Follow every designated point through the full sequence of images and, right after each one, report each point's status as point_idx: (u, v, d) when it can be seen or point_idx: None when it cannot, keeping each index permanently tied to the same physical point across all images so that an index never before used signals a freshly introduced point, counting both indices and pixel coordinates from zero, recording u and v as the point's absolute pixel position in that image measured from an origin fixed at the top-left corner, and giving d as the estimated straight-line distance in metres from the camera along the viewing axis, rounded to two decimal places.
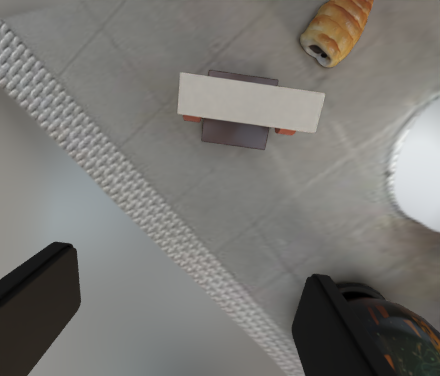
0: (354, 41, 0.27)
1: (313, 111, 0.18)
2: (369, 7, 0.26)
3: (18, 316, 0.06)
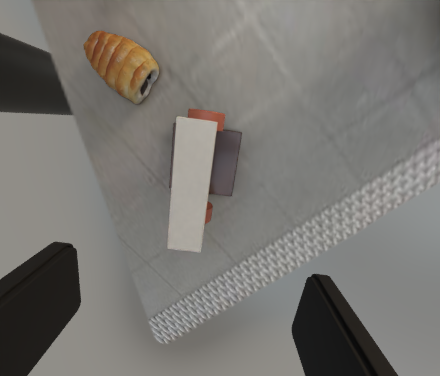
0: (133, 46, 0.26)
1: (194, 127, 0.16)
2: (102, 35, 0.26)
3: (18, 316, 0.06)
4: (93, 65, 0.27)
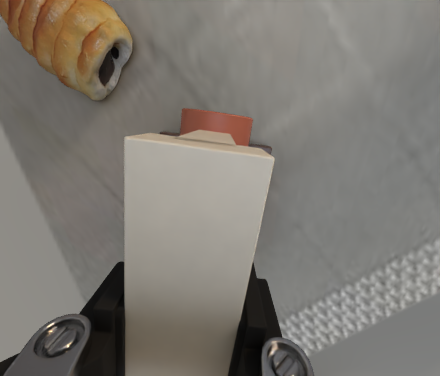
0: None
1: (192, 175, 0.05)
2: None
3: None
4: (12, 31, 0.15)
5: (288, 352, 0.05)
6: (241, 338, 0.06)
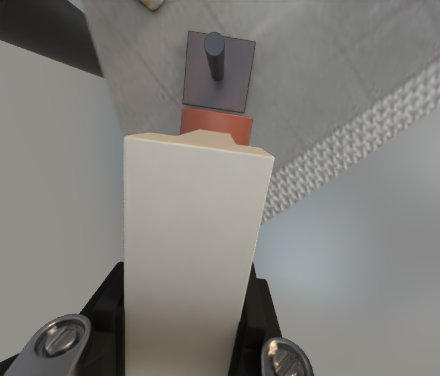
0: None
1: (192, 175, 0.05)
2: None
3: None
4: None
5: (288, 352, 0.05)
6: (241, 338, 0.06)
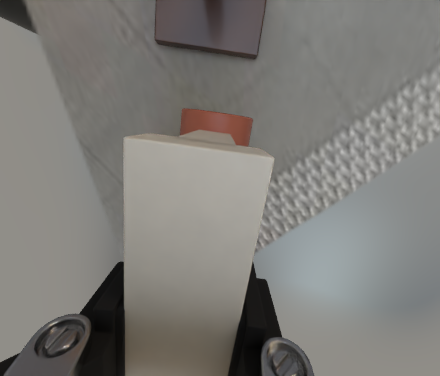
0: None
1: (192, 175, 0.05)
2: None
3: None
4: None
5: (288, 352, 0.05)
6: (241, 338, 0.06)
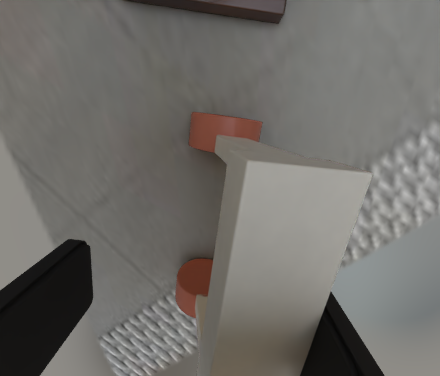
0: None
1: (304, 193, 0.05)
2: None
3: (39, 309, 0.06)
4: None
5: None
6: None
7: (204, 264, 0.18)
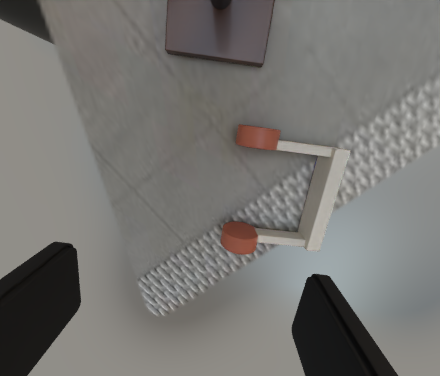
0: None
1: None
2: None
3: (18, 316, 0.06)
4: None
5: None
6: None
7: (229, 228, 0.25)
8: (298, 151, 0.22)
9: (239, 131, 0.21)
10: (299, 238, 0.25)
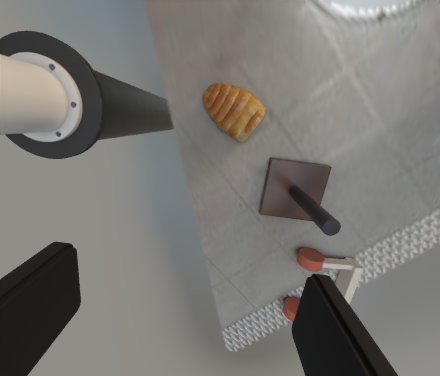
0: (248, 96, 0.30)
1: None
2: (223, 87, 0.30)
3: (18, 316, 0.06)
4: (211, 112, 0.31)
5: None
6: None
7: (289, 304, 0.42)
8: (333, 267, 0.38)
9: (301, 258, 0.37)
10: None
